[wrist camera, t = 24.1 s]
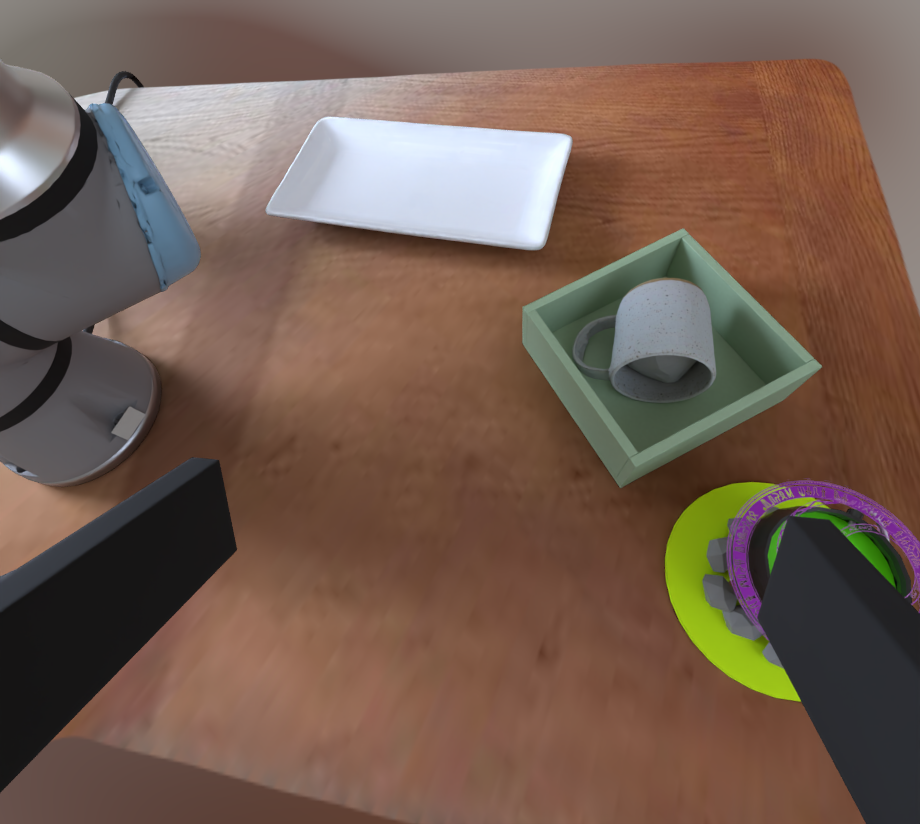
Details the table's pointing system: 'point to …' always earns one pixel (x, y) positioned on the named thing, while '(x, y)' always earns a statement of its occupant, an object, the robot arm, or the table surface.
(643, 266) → the bin
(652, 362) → the ceramic mug
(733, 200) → the table surface
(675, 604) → the toy cauldron
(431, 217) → the tray
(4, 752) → the robot arm
